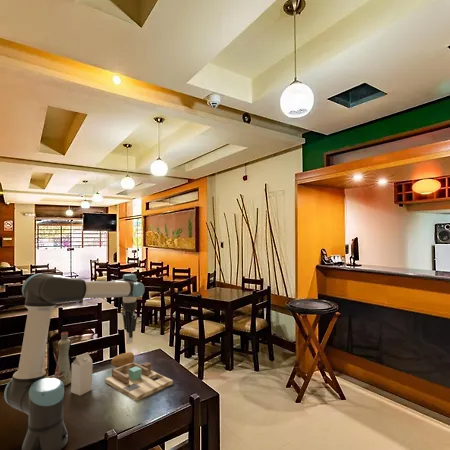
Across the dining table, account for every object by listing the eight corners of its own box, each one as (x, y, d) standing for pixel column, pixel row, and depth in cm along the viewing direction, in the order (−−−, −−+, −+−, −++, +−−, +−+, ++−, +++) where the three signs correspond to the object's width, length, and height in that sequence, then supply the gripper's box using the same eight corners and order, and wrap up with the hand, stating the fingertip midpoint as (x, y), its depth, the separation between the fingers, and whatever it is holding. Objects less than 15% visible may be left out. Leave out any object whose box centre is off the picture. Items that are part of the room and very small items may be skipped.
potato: (108, 367, 186) (108, 354, 186) (130, 361, 195) (130, 349, 195) (114, 373, 179) (114, 359, 179) (137, 366, 188) (137, 353, 188)
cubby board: (136, 401, 148) (136, 389, 148) (105, 382, 167) (105, 372, 168) (172, 383, 166) (172, 373, 166) (140, 368, 185) (140, 359, 185)
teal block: (133, 381, 165) (133, 371, 165) (128, 378, 168) (128, 369, 168) (141, 377, 169) (141, 368, 169) (136, 375, 172) (136, 366, 172)
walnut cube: (146, 372, 175) (146, 365, 175) (141, 371, 176) (141, 364, 177) (150, 370, 178) (151, 363, 179) (145, 368, 180) (145, 362, 180)
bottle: (71, 386, 163) (72, 333, 164) (51, 389, 160) (53, 335, 161) (72, 379, 171) (73, 328, 172) (54, 381, 168) (55, 330, 169)
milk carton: (70, 392, 156) (71, 355, 157) (83, 386, 162) (83, 350, 163) (80, 396, 153) (80, 357, 154) (92, 389, 159) (92, 353, 160)
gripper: (141, 301, 171) (141, 343, 170) (129, 298, 179) (129, 338, 179) (130, 304, 165) (130, 347, 165) (117, 300, 174) (117, 342, 173)
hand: (129, 343), depth 172 cm, fingers closed
